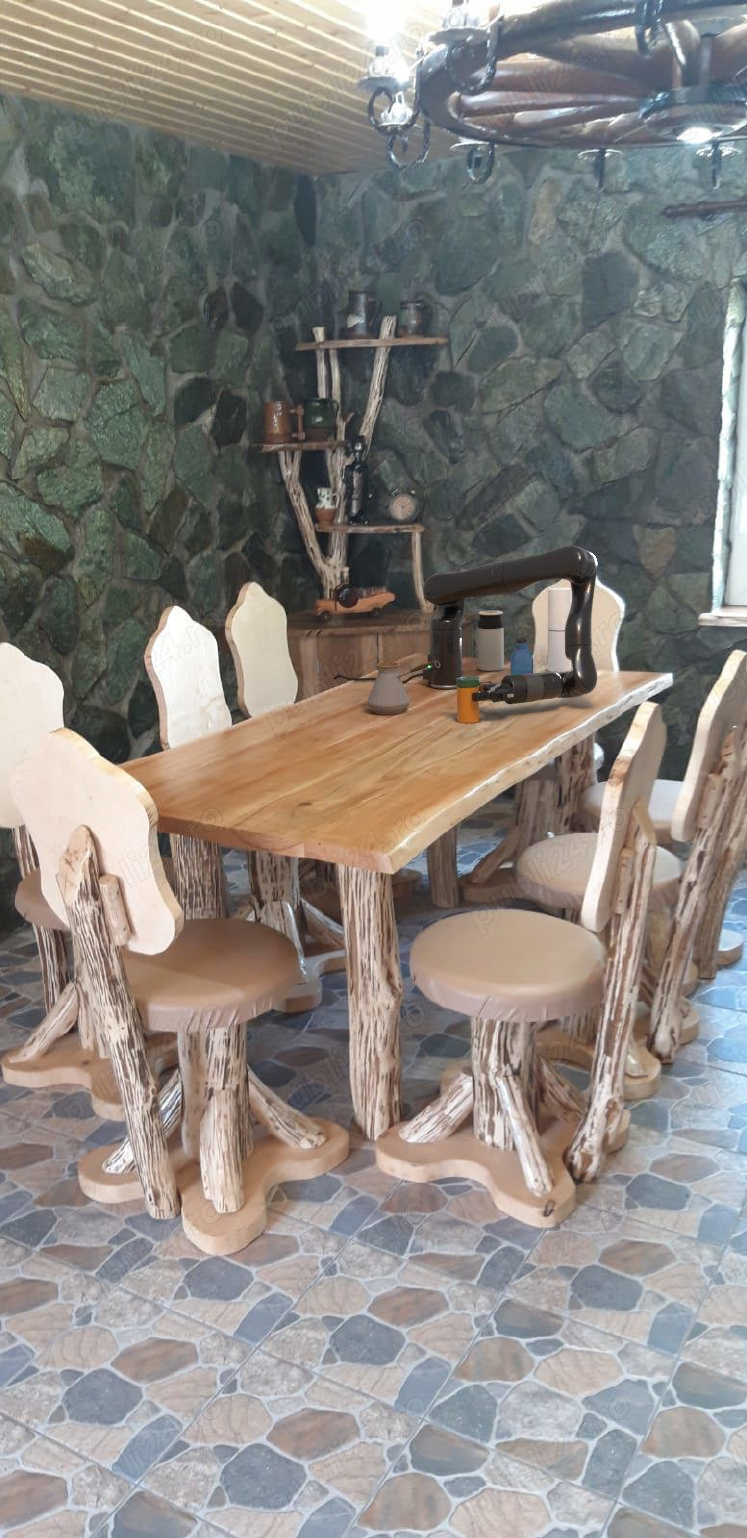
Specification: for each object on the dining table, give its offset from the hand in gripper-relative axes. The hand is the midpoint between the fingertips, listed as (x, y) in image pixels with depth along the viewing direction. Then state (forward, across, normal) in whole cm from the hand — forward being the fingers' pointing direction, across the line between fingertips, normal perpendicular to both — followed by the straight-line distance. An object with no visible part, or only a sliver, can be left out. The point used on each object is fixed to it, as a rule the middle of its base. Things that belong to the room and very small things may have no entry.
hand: (465, 694), depth 300 cm
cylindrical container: (-55, -52, +7) cm, 76 cm away
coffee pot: (+11, -15, +7) cm, 20 cm away
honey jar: (-1, 0, +7) cm, 7 cm away
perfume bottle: (-39, -45, +7) cm, 60 cm away
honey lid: (-1, 0, -4) cm, 4 cm away
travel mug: (-37, -63, +7) cm, 73 cm away
